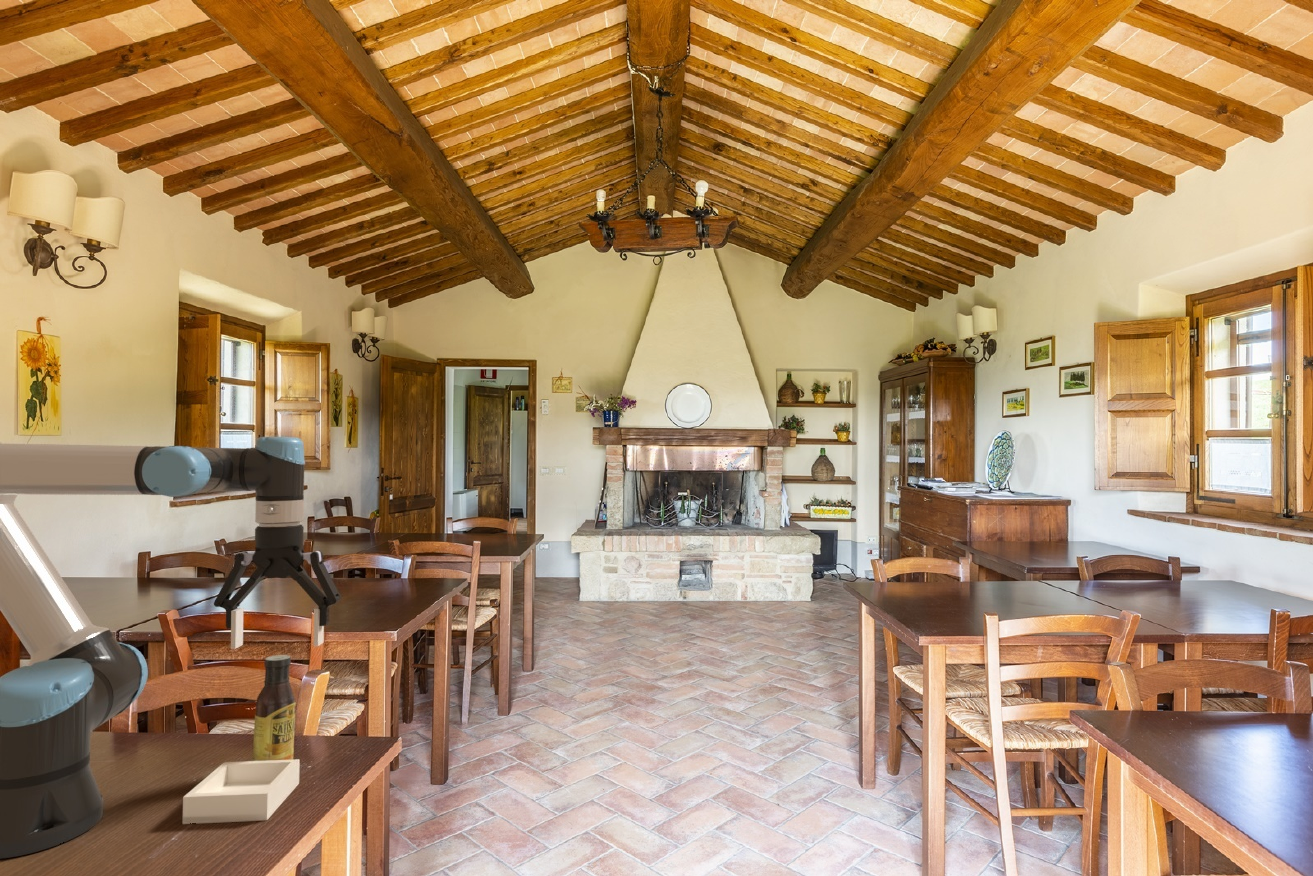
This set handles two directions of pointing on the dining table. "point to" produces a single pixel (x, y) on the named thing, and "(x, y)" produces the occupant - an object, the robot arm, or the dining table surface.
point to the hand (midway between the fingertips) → (277, 646)
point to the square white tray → (241, 791)
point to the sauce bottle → (275, 713)
